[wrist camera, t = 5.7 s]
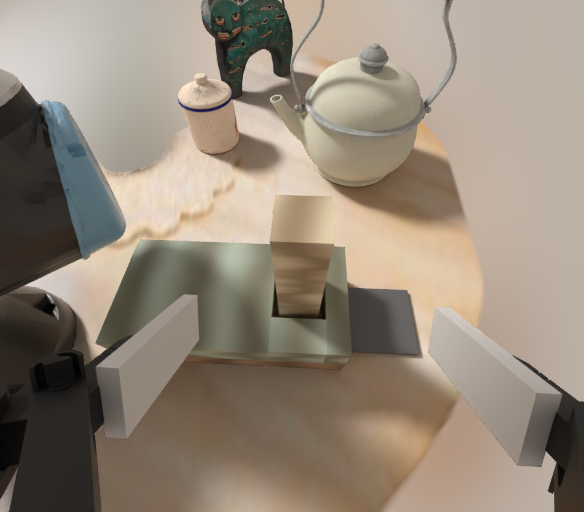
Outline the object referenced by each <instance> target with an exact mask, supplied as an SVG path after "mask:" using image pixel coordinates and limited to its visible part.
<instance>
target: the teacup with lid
mask: <svg viewBox="0 0 584 512" xmlns="http://www.w3.org/2000/svg"><path fill="white" fill-rule="evenodd" d="M194 79H195V80H194V81H193V82H190V83H188V84H186V85H185V86H184V87H182V88H181V90H180V92H179V94H178V101H179V104H180V105H181V106H182V108H183V111H184V114H185V117H186V120H187V123H188V126H189V129H190V131H191V134H192V137H193V140H194V143H195V145H196V147H197V148H198V149H199V150H201V151H203V152H205V153H210V154H218V153H223V152H226V151H229V150H231V149H232V148H234V147H235V146H236V144H237V143H238V141H239V132H238V127H237V122H236V116H235V111H234V106H233V100H232V97H233V93H232V90H231V88H230V87H229V86H228V85H227V84H226V83H225V82H223V81H220V80H215V79H209V78H207V76H206V75H205V74H204V73H198V74H196V75H195V77H194Z"/></svg>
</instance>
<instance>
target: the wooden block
mask: <svg viewBox="0 0 584 512" xmlns="http://www.w3.org/2000/svg"><path fill="white" fill-rule="evenodd" d="M270 246H271V253H272V261H273V269H274V277H275V285H276V293H277V300H278V308H279V316H280V318H300V319H318V314H319V310H320V305H321V301H322V296H323V292H324V287H325V283H326V278H327V274H328V269H329V265H330V260H331V256H332V251H333V247H334V229H333V206H332V197H325V196H293V195H275V201H274V210H273V219H272V228H271V237H270Z"/></svg>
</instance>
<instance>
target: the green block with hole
mask: <svg viewBox="0 0 584 512" xmlns="http://www.w3.org/2000/svg"><path fill="white" fill-rule="evenodd" d="M184 294H187V295H197V302H198V325H199V341H198V342H197V343H196V345H195V346H194V347H193V349H192V350H191V352H190V353H189V354H188V356H187V357H186V358H185V360H184V361H183V362H198V363H219V364H239V365H259V366H279V367H299V368H320V369H340V370H341V369H342V367H343V366H344V365H345V364H346V363H347V361H348V360H349V359H350V358H351V357H352V347H351V333H350V318H349V303H348V288H347V273H346V258H345V247H333V251H332V256H331V260H330V265H329V269H328V274H327V278H326V283H325V287H324V292H323V296H322V301H321V305H320V310H319V314H318V319H300V318H280V316H279V308H278V300H277V293H276V285H275V277H274V269H273V261H272V253H271V246H270V244H248V243H220V242H192V241H165V240H139V242H138V244H137V246H136V249H135V251H134V253H133V256H132V258H131V260H130V263H129V265H128V267H127V270H126V272H125V275H124V277H123V279H122V282H121V284H120V286H119V289H118V291H117V293H116V296H115V298H114V300H113V303H112V305H111V308H110V310H109V312H108V315H107V317H106V319H105V322H104V324H103V326H102V329H101V331H100V333H99V336H98V338H97V340H96V343H95V344H98V345H100V346H102V347H105V348H107V349H109V347H110V346H112V345H113V344H114V343H115V342H117V341H118V340H120V339H123V338H125V337H127V336H129V335H135V334H136V333H137V332H139V331H140V330H141V329H142V328H143V327H145V326H146V325H147V324H148V323H150V322H151V321H152V320H153V319H154V318H156V317H157V316H158V315H159V314H160V313H162V312H163V311H164V310H165V309H167V308H168V307H169V306H170V305H171V304H173V303H174V302H175V301H176V300H177V299H179V298H180V297H181V296H182V295H184Z"/></svg>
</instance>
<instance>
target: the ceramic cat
mask: <svg viewBox="0 0 584 512" xmlns="http://www.w3.org/2000/svg"><path fill="white" fill-rule="evenodd" d="M201 13H202V21H203V24H204V26H205V28H206V30H207V31H208V32H209V33H210V34H211V35H212V36H213V37H214V38H215V43H216V44H215V45H216V54H217V62H218V67H219V70H220V76H221V81H223V82H225V83H226V84H227V85H228V86H229V87H230V88H231V90H232V93H233V97H232V99H234V98H236V97H239V96H241V95H242V80H243V73H244V70H245V66H246V63H247V61H248V59H249V58H250V56H252V55H253V54H254V53H256V52H257V51H259V50H261V49H266V50H268V51H269V52H270V53H271V55H272V61H273V71H274V74H277V75H278V76H279V77H284V76H286V75H288V74H289V73H290V64H291V56H292V47H293V39H292V38H293V37H292V28H291V23H290V20H289V17H288V14H287V11H286V9H285V5H284V0H282V3H281V2H280V1H278V0H203V1H202V5H201Z"/></svg>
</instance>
